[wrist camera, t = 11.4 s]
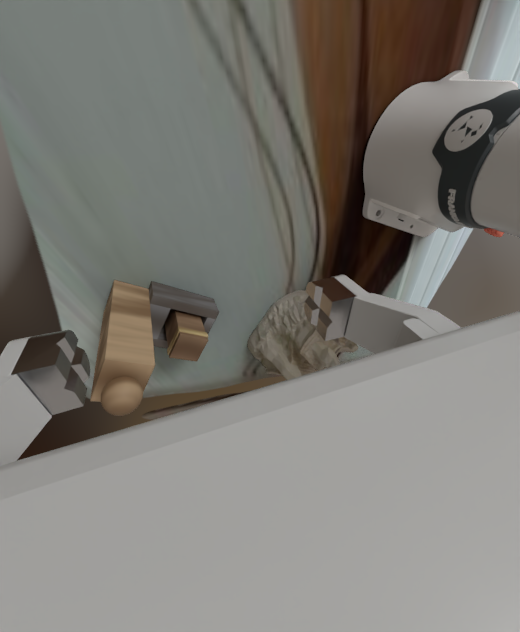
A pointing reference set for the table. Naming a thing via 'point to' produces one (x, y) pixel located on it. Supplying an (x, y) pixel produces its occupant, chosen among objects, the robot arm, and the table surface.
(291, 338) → the ceramic cottage
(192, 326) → the small wooden block
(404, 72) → the table surface
